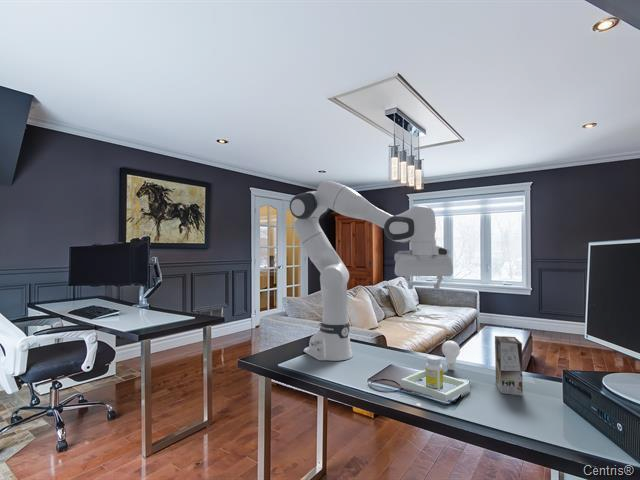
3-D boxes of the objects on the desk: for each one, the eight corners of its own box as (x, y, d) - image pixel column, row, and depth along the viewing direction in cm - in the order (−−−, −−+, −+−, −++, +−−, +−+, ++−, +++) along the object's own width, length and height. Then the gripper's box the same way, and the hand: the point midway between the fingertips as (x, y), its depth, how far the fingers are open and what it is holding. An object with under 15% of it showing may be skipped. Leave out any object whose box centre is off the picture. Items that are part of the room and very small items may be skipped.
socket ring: (362, 384, 115) (362, 383, 115) (382, 376, 122) (382, 376, 122) (387, 395, 106) (387, 394, 106) (408, 386, 113) (408, 385, 113)
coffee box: (523, 396, 105) (522, 343, 106) (500, 393, 107) (499, 341, 108) (516, 385, 114) (515, 336, 115) (495, 382, 116) (494, 335, 116)
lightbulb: (460, 368, 130) (460, 339, 130) (459, 374, 124) (459, 343, 124) (442, 366, 132) (442, 337, 133) (441, 371, 126) (440, 341, 127)
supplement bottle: (438, 384, 113) (438, 354, 113) (446, 391, 108) (446, 359, 108) (422, 385, 112) (422, 355, 113) (430, 392, 107) (429, 360, 107)
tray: (401, 388, 111) (401, 379, 112) (425, 377, 120) (425, 369, 121) (446, 405, 99) (446, 394, 99) (469, 392, 108) (469, 382, 108)
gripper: (396, 250, 120) (396, 290, 120) (454, 250, 120) (455, 289, 120) (392, 250, 126) (392, 288, 126) (447, 250, 126) (448, 287, 126)
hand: (423, 288), depth 123 cm, fingers open, 8 cm apart
